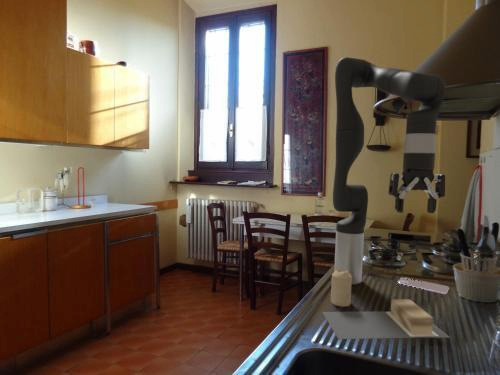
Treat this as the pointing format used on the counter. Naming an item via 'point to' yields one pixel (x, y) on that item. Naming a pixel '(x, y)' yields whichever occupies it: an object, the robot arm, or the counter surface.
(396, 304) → the cream block
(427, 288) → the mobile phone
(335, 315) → the mat
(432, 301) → the counter surface
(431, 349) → the counter surface
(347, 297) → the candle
